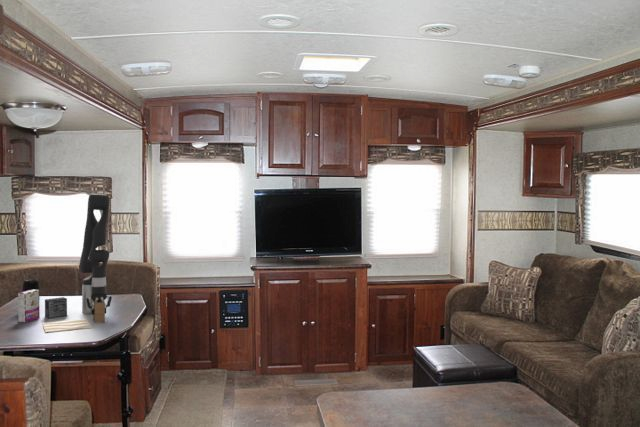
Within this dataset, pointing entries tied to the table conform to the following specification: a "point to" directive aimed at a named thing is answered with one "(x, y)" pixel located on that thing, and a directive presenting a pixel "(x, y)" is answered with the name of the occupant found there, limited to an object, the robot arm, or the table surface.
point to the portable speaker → (30, 284)
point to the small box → (55, 307)
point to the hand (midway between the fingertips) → (98, 314)
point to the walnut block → (99, 312)
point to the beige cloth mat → (66, 325)
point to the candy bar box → (28, 305)
